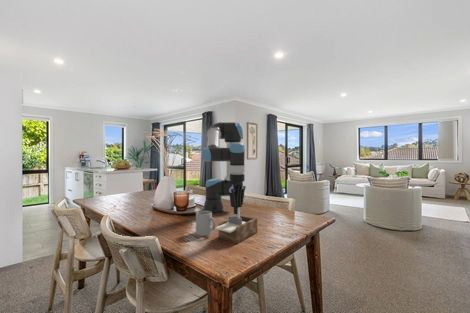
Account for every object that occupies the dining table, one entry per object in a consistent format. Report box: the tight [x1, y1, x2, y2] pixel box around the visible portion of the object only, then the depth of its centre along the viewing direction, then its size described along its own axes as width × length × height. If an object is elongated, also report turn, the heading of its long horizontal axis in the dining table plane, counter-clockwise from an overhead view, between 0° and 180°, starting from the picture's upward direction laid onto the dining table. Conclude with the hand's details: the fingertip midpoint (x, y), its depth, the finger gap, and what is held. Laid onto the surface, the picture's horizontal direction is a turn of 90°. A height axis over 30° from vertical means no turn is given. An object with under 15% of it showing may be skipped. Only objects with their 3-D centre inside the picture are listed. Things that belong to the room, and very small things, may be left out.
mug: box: [195, 210, 217, 237], centre depth 120 cm, size 12×8×11 cm
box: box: [218, 214, 258, 244], centre depth 118 cm, size 18×12×8 cm, turn 145°
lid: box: [214, 215, 246, 233], centre depth 113 cm, size 16×9×4 cm, turn 145°
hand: (237, 219), depth 116 cm, fingers closed
